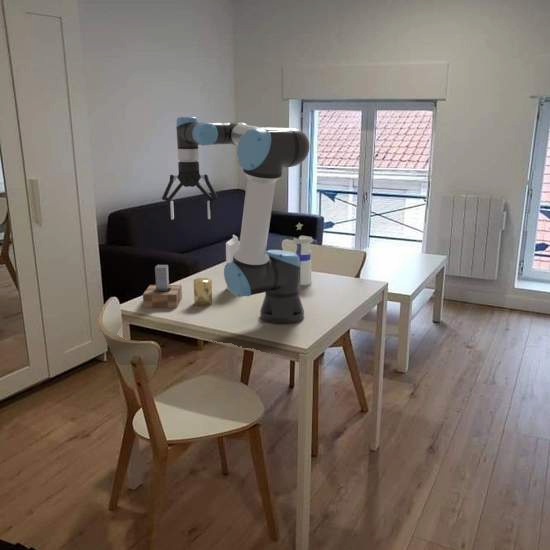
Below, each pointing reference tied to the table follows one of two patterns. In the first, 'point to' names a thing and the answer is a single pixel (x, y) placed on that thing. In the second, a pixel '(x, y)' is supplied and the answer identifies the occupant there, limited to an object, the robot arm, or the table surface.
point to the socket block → (162, 297)
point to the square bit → (162, 278)
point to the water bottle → (304, 257)
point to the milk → (231, 249)
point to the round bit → (202, 292)
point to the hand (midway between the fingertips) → (190, 218)
